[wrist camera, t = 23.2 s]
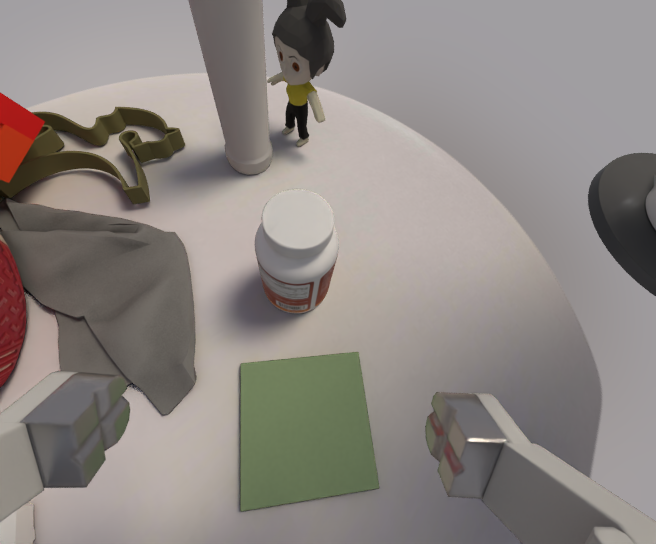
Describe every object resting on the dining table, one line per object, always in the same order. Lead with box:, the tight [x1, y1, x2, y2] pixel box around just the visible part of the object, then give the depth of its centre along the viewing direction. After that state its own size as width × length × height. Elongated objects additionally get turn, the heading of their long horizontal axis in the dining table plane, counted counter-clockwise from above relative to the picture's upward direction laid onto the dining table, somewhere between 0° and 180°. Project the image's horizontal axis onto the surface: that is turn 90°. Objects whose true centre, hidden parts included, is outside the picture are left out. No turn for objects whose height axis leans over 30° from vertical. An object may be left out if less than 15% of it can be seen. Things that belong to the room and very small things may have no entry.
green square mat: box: [240, 352, 379, 512], centre depth 24 cm, size 10×10×1 cm
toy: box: [267, 0, 346, 147], centre depth 31 cm, size 8×5×15 cm, turn 46°
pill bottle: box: [255, 189, 339, 313], centre depth 25 cm, size 6×6×11 cm
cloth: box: [0, 198, 196, 415], centre depth 27 cm, size 26×14×2 cm, turn 39°
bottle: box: [189, 0, 273, 175], centre depth 24 cm, size 5×5×25 cm
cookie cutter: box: [0, 107, 185, 204], centre depth 32 cm, size 18×12×2 cm, turn 91°
